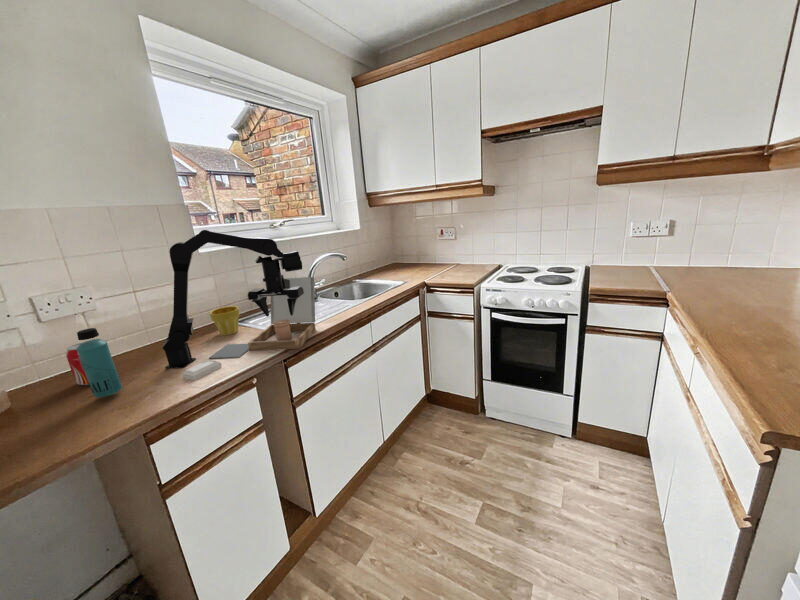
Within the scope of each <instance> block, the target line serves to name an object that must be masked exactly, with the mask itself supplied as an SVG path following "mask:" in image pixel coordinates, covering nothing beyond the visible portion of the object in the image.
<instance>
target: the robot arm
mask: <svg viewBox="0 0 800 600" xmlns="http://www.w3.org/2000/svg"><path fill="white" fill-rule="evenodd" d="M208 243H209V244H215V245H221V246H227V247H232V248H233V247H234V248H240V249H246V250H250V251H252V252H255V253H258V254H262V255H265V256H261V255H258V257H257V258H256V259H255V261H254V262H255V263H256V264H261V267H262V271H263V278H262V282H263V283H264V282H265V283H264V284H265V288H266V289H265V288H264V287H263V288H253V289H252V290H250V291H248V293H247V300H248V301H249V300H250V301H251V302H252V303H255V304H256V306H258V307H259V309H260V310H261V311H262V313H264V315H265V316H266V317H269V316H270V311H269V307H268V303H267V299H268V297H271V296H277V295H287V296H288V297H289V298H288V299H287V302H288V306H289V311H290V314H291V316H292V315H293V312H294V307H295V303H296V300H297V298H299V297H300V296H301V295H302V294H304V290H303V288H302V287H301V286H300V287H291V288H290V280H287V279H285V278H284V275H283V274H282V272H281V271H282V270H284V271H285V272H286V273H287V272H295V271H300V270H303V262H302V259H301V256H300V252H299V251H297V250H296V251H294V250H293V251H291V252H284V253H283V251H282V250H280V249H279V248H278V244H277V242H276V241H275V240H274V239H272V238H270V237H246V236H239V235H234V234H228V233H223V232H217V231H211V230H210V229H202V230H201V231H200V232H199V233H197V234H195V235H194V236H193V237H191V238H189V239H188V240H186V241H185V242H184V241H178V242H176V243H174V244H173V245H171V247H170V248H169V251H168V253H169V257H170V263H171V266H172V270H173V308H172V309H173V311H172V313H173V315H172V318H171V323H170V327H169V331H168V335H167V338H166V339H165V341H164V343H163V345H162V349H163V350H164V352H165V356H166V360H167V363H168V364H167V365H165V369H183V368H185V367H187V366H188V365H190V364H191V363H193V362H194V361H196V360H197V357H192V353H191V349H190V346H189V344H188V341H189V339H190V337H191V336H193V333H194V327H193V322H194V317H191V318H189V314H188V307H189V306H188V304H189V303H188V301H189V300H188V298H189V296H188V295H189V271H190V266H191V263H192V259H193V255H194V252H196V251H197V250H198V251H199V249H201V248H202V247H204V246H205V245H206V244H208ZM272 256H275V258H272ZM286 288H287V289H288V290H284V289H286ZM289 288H290V289H289ZM280 292H281V293H280Z"/></svg>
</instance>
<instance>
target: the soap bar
mask: <svg viewBox="0 0 800 600" xmlns="http://www.w3.org/2000/svg"><path fill="white" fill-rule="evenodd" d="M221 368H222V363H221V362H219V361H217V360H212V359H207V360H205V361H202V362H201V363H198V364H196V365H194V366H191V367H190V368H188V369H185V371H184V372H183V373H182V374H183V375H182V376H183V378H184V379H187V380H191V381H196V380H198V379H200V378H202V377H204V376H206V375H208V374H210V373H212V372H214V371H216V370H218V369H221Z"/></svg>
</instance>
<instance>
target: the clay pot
mask: <svg viewBox="0 0 800 600" xmlns="http://www.w3.org/2000/svg"><path fill="white" fill-rule="evenodd" d="M289 324H291V323H290V320H287V319H284V320H278V321H275V322H274V323H273V325H274V327H275V331H276V332H275V336H276V341H279V340H293V338H292V332H291V331H290V325H289Z"/></svg>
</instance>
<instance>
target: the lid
mask: <svg viewBox="0 0 800 600" xmlns="http://www.w3.org/2000/svg"><path fill="white" fill-rule="evenodd" d="M284 279H287V280H290V288H291V287H300V286H301V287H302V288H303V290H304V294H302V295H301V296H300V297H299V298H297V300H296V303H295V307H294V312H293V315H292V316H291V314H290V311H289V306H288V302H287V299H288V298H289V297H288V296H287V295H277V296H270V325H272V324H273V323H274V322H275V321H278V320H284V319H287V320H290V324H296V323H316V299H315V296H316V295H315V293H316V292H315V277H314V276H307V277H306V276H302V277H287V278H284ZM290 288H289V289H290ZM284 290H288V289H287V288H286V289H284ZM280 293H281V292H280Z"/></svg>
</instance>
